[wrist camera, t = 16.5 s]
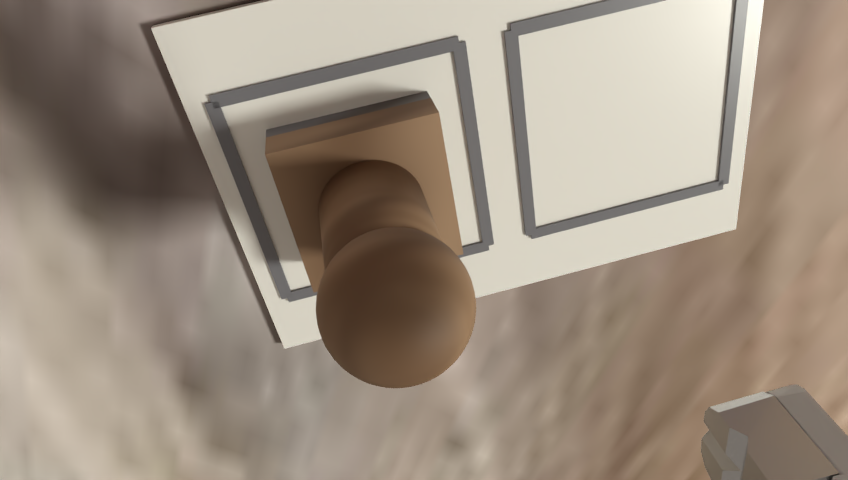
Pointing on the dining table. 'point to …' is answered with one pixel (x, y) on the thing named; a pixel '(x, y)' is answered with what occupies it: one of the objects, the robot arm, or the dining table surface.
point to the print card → (487, 121)
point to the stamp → (378, 237)
